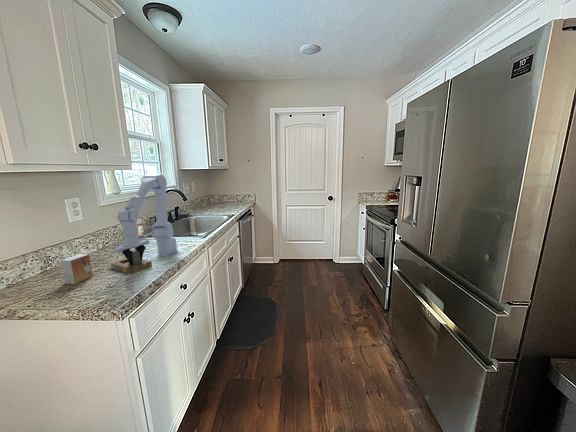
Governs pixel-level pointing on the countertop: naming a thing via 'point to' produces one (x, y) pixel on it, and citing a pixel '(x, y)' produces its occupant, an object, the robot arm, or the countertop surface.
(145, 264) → the divided box
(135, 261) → the plug
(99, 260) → the countertop surface
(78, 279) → the small box
